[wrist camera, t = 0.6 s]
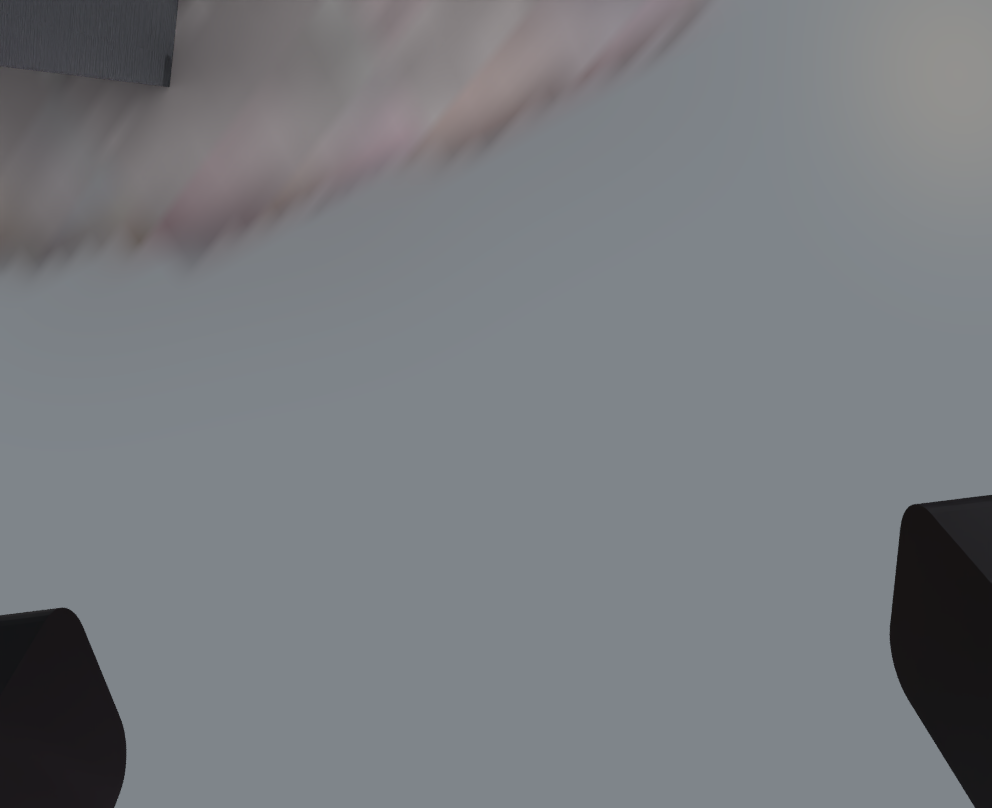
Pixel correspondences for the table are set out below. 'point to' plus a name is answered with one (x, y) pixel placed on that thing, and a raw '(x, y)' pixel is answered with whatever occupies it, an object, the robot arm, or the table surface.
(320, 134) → the table surface
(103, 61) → the rack
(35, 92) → the table surface
